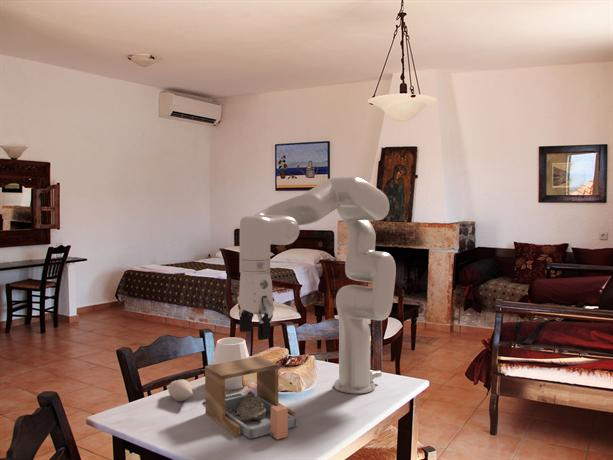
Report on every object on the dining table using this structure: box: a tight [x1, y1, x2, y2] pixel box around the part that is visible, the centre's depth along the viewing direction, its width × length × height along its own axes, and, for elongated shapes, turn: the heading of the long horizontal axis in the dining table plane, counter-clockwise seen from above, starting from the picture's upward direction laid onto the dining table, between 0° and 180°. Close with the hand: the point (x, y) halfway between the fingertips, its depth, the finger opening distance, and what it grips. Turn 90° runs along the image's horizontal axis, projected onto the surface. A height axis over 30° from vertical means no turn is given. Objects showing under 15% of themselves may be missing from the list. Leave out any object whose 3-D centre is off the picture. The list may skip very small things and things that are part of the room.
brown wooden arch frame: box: [202, 355, 296, 438], centre depth 149 cm, size 17×26×13 cm, turn 35°
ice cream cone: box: [167, 379, 193, 402], centre depth 158 cm, size 6×6×15 cm
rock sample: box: [231, 390, 267, 423], centre depth 146 cm, size 10×8×9 cm
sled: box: [225, 392, 297, 440], centre depth 143 cm, size 13×24×7 cm, turn 35°
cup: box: [211, 337, 250, 391], centre depth 172 cm, size 13×13×14 cm
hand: (254, 335), depth 136 cm, fingers open, 9 cm apart
